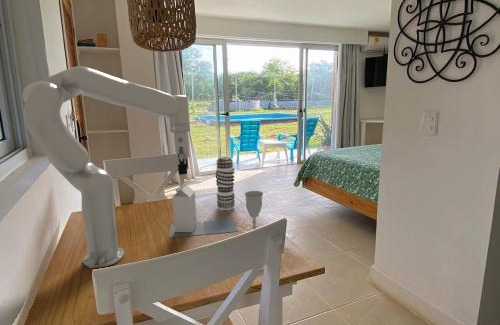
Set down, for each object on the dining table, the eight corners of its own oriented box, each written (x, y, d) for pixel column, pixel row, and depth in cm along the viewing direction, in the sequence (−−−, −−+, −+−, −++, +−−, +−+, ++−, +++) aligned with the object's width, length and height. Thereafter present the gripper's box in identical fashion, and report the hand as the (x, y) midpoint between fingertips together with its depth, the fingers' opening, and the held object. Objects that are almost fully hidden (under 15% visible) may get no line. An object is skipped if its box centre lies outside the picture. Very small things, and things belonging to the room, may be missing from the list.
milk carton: (196, 225, 131) (194, 182, 127) (191, 233, 124) (189, 187, 120) (180, 225, 132) (177, 182, 128) (174, 232, 125) (171, 187, 121)
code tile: (202, 234, 123) (202, 234, 123) (168, 237, 121) (168, 237, 120) (201, 222, 135) (201, 221, 135) (170, 224, 133) (170, 224, 133)
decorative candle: (238, 209, 150) (236, 158, 145) (219, 212, 147) (217, 160, 141) (232, 203, 158) (230, 155, 153) (214, 205, 155) (212, 156, 150)
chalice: (257, 244, 114) (256, 197, 110) (241, 240, 118) (240, 195, 114) (266, 236, 120) (266, 192, 116) (251, 233, 124) (251, 189, 120)
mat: (237, 231, 125) (237, 231, 125) (205, 234, 123) (204, 234, 123) (233, 219, 138) (233, 218, 138) (203, 221, 135) (203, 221, 135)
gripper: (189, 130, 111) (193, 176, 115) (190, 125, 128) (192, 165, 132) (168, 131, 110) (172, 177, 114) (171, 126, 127) (174, 166, 131)
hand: (183, 171), depth 123 cm, fingers open, 9 cm apart
